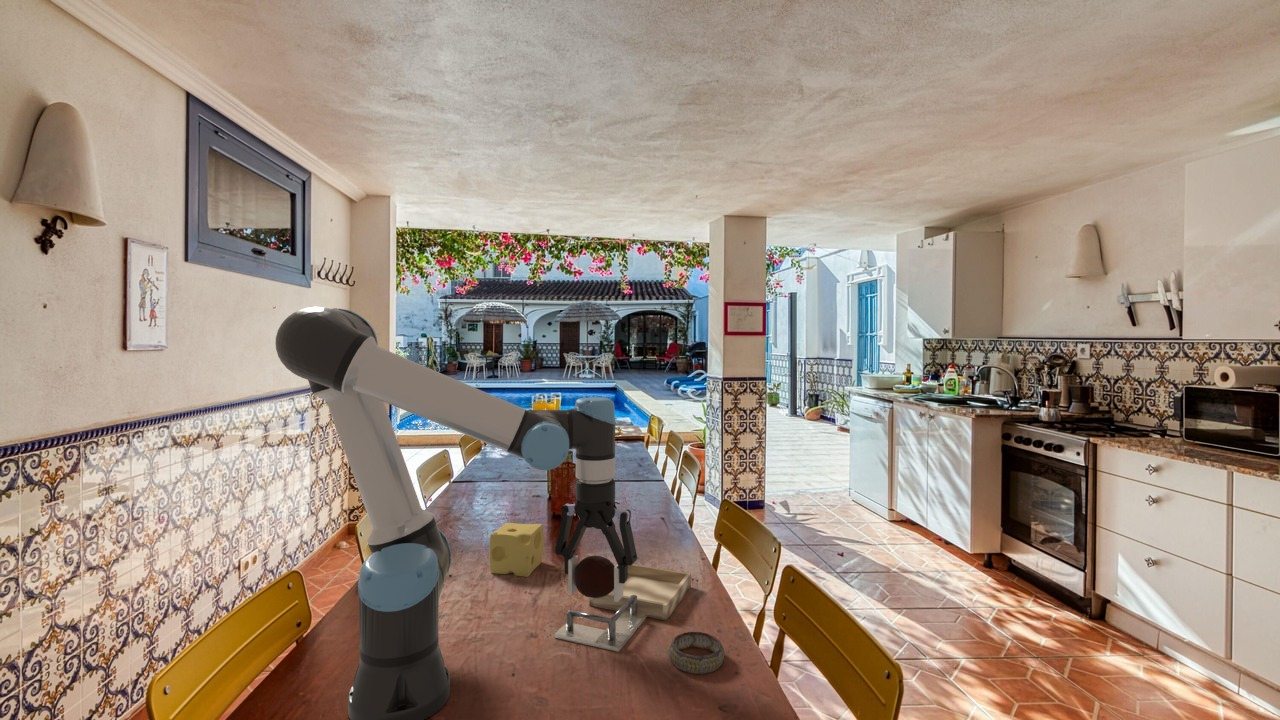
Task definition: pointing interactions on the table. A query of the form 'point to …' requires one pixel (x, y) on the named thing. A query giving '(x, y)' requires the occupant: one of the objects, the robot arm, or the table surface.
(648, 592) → the tray
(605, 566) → the dark brown ball
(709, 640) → the decorative ring
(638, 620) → the corner grab bar
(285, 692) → the table surface
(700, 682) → the table surface
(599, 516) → the robot arm
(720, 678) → the table surface
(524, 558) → the cheese
